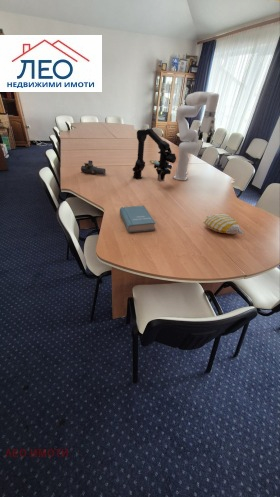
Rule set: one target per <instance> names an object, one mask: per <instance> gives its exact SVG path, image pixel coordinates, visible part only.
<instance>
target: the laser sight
mask: <svg viewBox="0 0 280 497" xmlns="http://www.w3.org/2000/svg"><path fill="white" fill-rule="evenodd" d="M80 171H81V173H84V174H89V175H101V176H105V175H106V173H107V172H106V168H104V167H97V166H94V164H93V160H88V162H84V165H81V166H80Z"/></svg>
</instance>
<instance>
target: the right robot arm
mask: <svg viewBox="0 0 280 497" xmlns="http://www.w3.org/2000/svg"><path fill="white" fill-rule="evenodd" d="M219 100H220V94H219V92H211V91H194V92H192V93H189V94H187V96H185V101H184V102H185V104H184V105H183V104H182V105H179V106H178V107H177V108H176V112H175V118H176V122H177V125H178V134H179V140H180V143H179V145H178V158H177V164H176V170H175V175H173V179H174V180H177V181H186V180H188V177H187V175H188V174H189V173H188V172H187V171H188V166H189V161H190V160H189V156H188V155H195V154H196V155H197V153H198V152H199V149H200V144H199V141H203V136H204V134H207V136H206V140H205V143H206V144H210V143H211V141H212V138H213V135H214V134H215V132H216V130H215V125H216V113H217V107H218V105H219ZM203 106H205V108H204V112H203V117H202V119H201V122H200V123H201V124H200V125H199V126H198V131H197V130H196V129H192V128H190V127H189V125H190V124H189V122H188V120H187V119H186V118H195V117H197V116H198V115H199V113H200V110H202V107H203Z"/></svg>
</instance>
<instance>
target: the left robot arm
mask: <svg viewBox="0 0 280 497" xmlns="http://www.w3.org/2000/svg"><path fill="white" fill-rule="evenodd" d="M148 136H149V137H150V138H151V140H152V141H154V143H155V144H156V145H157V147H158V149H159V151H158V152H157V153H158V154H159V160H157V161H158V162H159V164H154V165H153V168H154V169H155V170H156V175H158V174H161V180H163V179H164V176H165V177H166V175H171V173H172V171H171V170H172V169H173V165H172V164H174V163H176V161H177V156H176V153H173V152H172V148H171V146H170V143H169V142H168V141H166V140H163V139H162V138H161V137H160V136H159V134H157V133H156V132H155V131H154V129H153V128H147V129H137V131H136V139H137V142H138V143H137V158H136V161H135V164H134V166H133V167H132V171H133V175H132V178H134V179H136V180H139V179H143V176H142V171H144V169H145V167H146V161H145V160H144V152H145V151H144V150H145V141H146V139H147V137H148ZM164 180H165V179H164Z"/></svg>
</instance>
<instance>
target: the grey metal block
mask: <svg viewBox="0 0 280 497" xmlns="http://www.w3.org/2000/svg"><path fill="white" fill-rule="evenodd" d="M156 178H157V181H158V182H159V183H160V182H161V183H162V182H165V178H166V175H165V176H164V179H163V180H161V174H157V177H156Z"/></svg>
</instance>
